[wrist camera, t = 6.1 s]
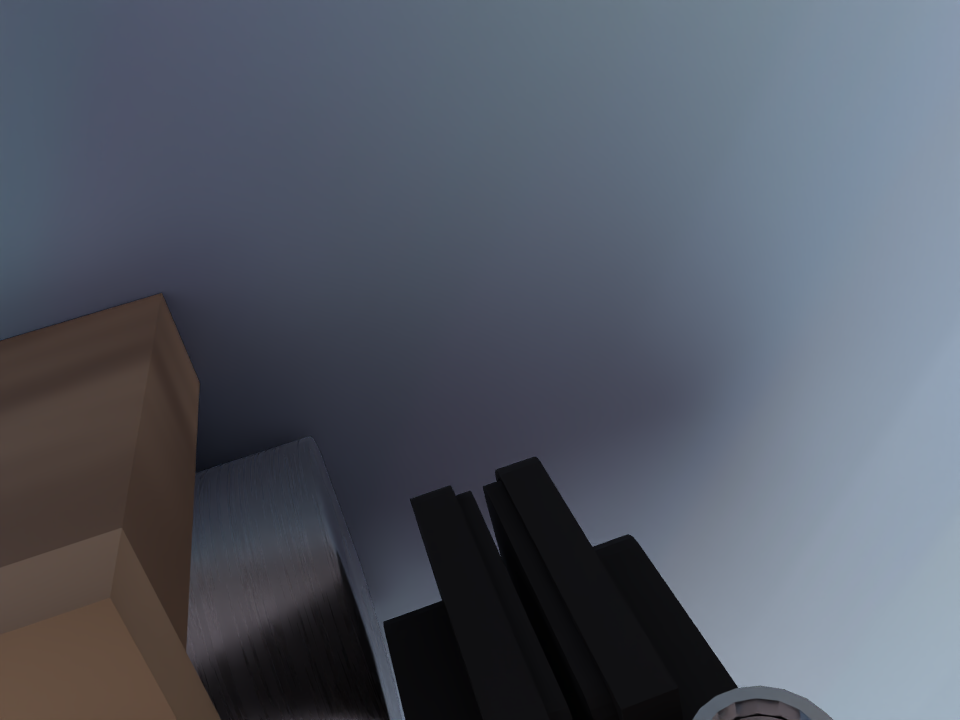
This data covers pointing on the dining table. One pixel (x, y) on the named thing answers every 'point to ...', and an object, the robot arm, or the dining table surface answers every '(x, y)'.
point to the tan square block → (98, 519)
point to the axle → (282, 595)
